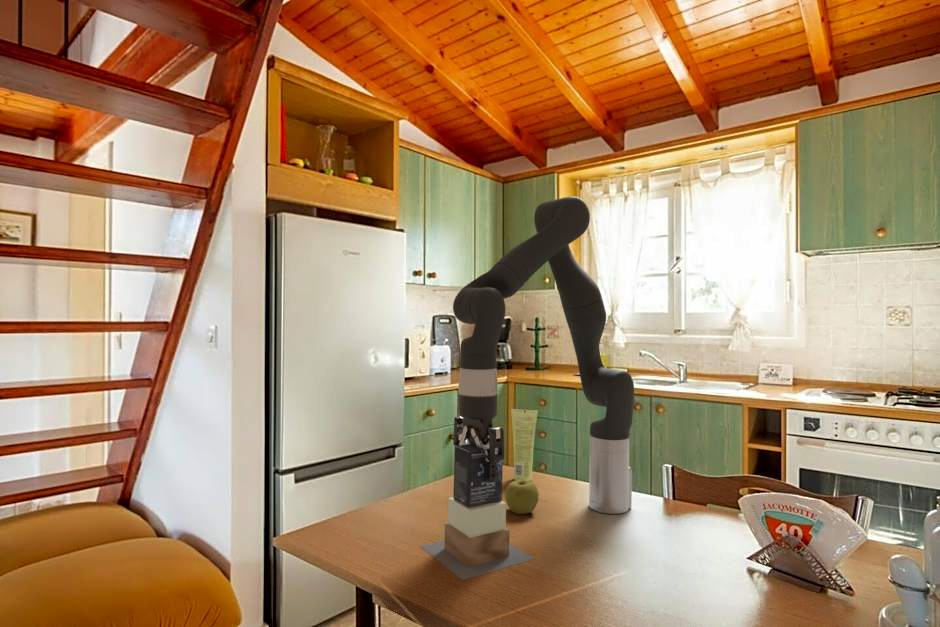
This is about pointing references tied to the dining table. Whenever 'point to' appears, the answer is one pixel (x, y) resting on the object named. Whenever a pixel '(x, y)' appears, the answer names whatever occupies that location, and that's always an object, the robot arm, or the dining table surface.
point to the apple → (521, 496)
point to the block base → (476, 546)
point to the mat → (467, 572)
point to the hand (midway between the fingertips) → (477, 475)
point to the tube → (523, 442)
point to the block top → (477, 517)
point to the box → (474, 477)
